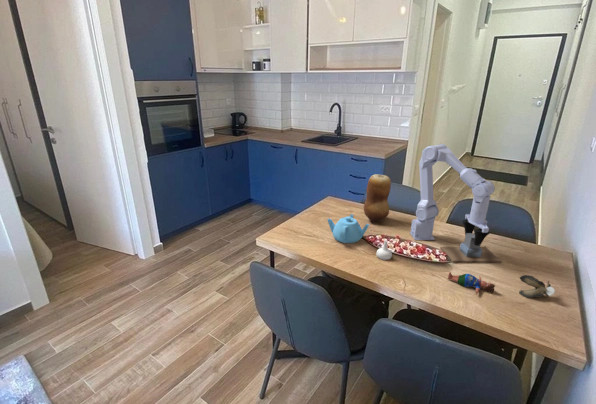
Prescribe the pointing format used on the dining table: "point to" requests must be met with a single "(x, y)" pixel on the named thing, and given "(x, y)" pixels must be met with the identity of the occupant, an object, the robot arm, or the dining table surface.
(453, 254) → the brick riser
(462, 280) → the toy character
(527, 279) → the eagle figurine
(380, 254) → the garlic bulb
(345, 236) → the teapot
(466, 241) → the gray brick
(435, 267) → the dining table surface
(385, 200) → the butternut squash
